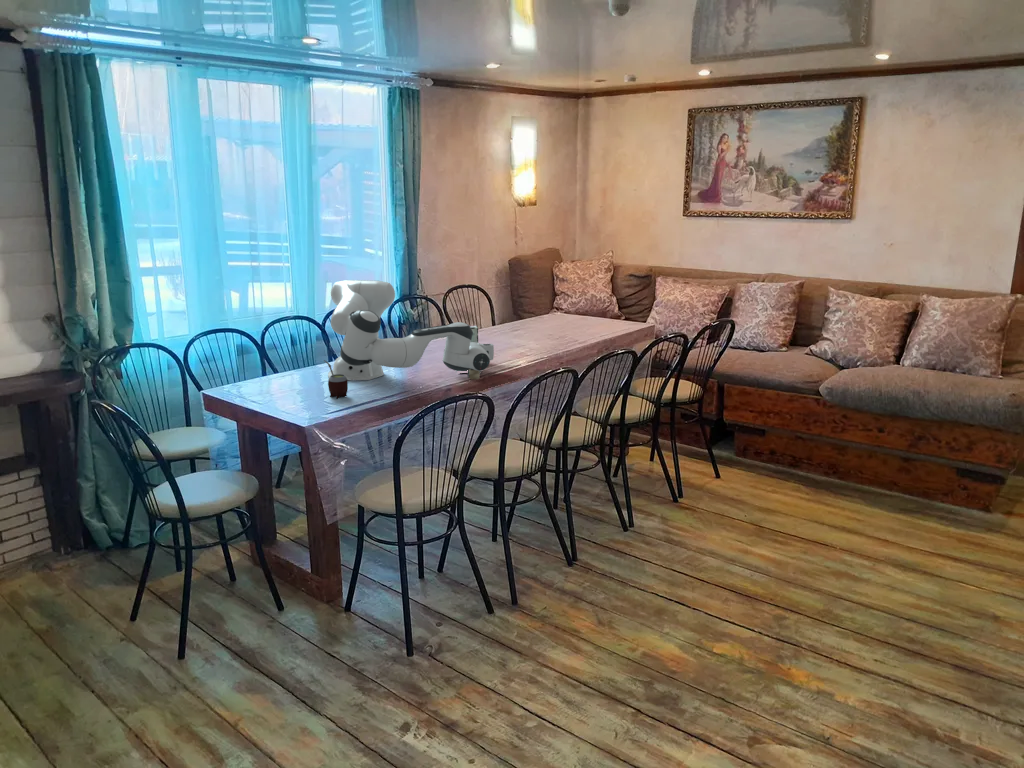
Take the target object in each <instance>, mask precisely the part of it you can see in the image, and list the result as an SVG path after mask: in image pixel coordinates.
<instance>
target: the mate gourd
mask: <svg viewBox="0 0 1024 768" xmlns="http://www.w3.org/2000/svg"><path fill="white" fill-rule="evenodd" d="M323 362H324V363H326V364H327V366H328V368H329V370H330V371H331V373H332V376H330V378H328V381H327V386H328V391H329V394H330V395H329V397H330V398H335V399H336V400H339V399H340V398H346V397H345V396H347V397H348V390H349V389H348V386H349V385H348V383H349V382H348V381H349V380H347V378H346V377H345V376H344V375H341V374H336V375H334V374H333V371H332V370H333V369H332V365H331V364H330V362H328V361H326V360H325V359H324V360H323ZM338 398H339V399H338Z"/></svg>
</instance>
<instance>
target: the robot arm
mask: <svg viewBox="0 0 1024 768" xmlns="http://www.w3.org/2000/svg"><path fill="white" fill-rule="evenodd" d="M330 297H331V300H332V302H333V303H334V305H336V306H335V308H334V310H333V312H332V314H331V317H330V326H331V329H332V330H333V331H334V333H336V334H338V335H340V336H344V338H343V340H342V345H341V346H340V352H339V353H340V355H339V356H338V357H337V358H336V359H335V360H334V363H333V365H332V366H333V367H332V368H333V369H332V371H333V374H334V375H336V374H341V375H344V376H345V377H346V378H347V381H371V380H373V379H376V378H379V377H382V376H384V374H385V373H384V370H383V367H386V368H396V369H406V368H411V367H414V366H415V365H417V364H418V363H419V362H420V360H421V359H422V357H423V355H424V353H425V351H426V349H427V347H428V346H429V344H430V343H431V342H432V341H434V339H435V340H436V339H440V338H442V339H443V338H445V345H444V349H443V356H442V362H443V364H444V365H445V366H446V367H447V368H448V369H450V370H453V371H455V370H456V371H467V370H469V369H470V368H471V369H474V370H477V371H481V372H482V371H485V370H486V369H487V368H489V366H490V363H491V361H493V360H494V358H495V357H494V355H495V352H494V351H495V349H494V348H495V347H494V346H495V345H494V344H493V343H480V342H478V343H476V342H471V339H472V335H473V331H472V329H471V327H470V326H471V325H469V324H468V323H465V322H459V321H457V322H451V323H448V324H444V325H443V324H442V325H436V326H428V327H422V328H418V329H414V330H413V331H412V332H411V333H410V334H409V335H407V336H404V337H398V338H397V337H389V338H380V337H379V332H380V331H381V326H382V325H381V324H382V321H381V317H382V315H383V314H384V312H385V311H386V309H388V308H389V307H390V306H392V304H393V303H394V301H395V298H396V291H395V288H394V286H393V285H392V284H391V282H387V281H381V280H369V279H367V280H366V279H364V280H363V279H362V280H360V279H357V280H355V279H346V280H340V281H335V282H334V283H333V285H332V287H331V290H330ZM456 371H455V372H456ZM330 376H332V373H331V370H330V371H329V372H328V373H327V377H328V379H329V378H330Z"/></svg>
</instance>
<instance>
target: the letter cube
mask: <svg viewBox="0 0 1024 768" xmlns="http://www.w3.org/2000/svg"><path fill="white" fill-rule="evenodd" d="M468 377H469V378H470V379H471V380H479V379H480V373H479V371H477V370H474V369H471V368H470V369H469V370H468V374H467V378H468ZM469 378H468V379H469ZM470 379H469V380H470Z"/></svg>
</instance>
